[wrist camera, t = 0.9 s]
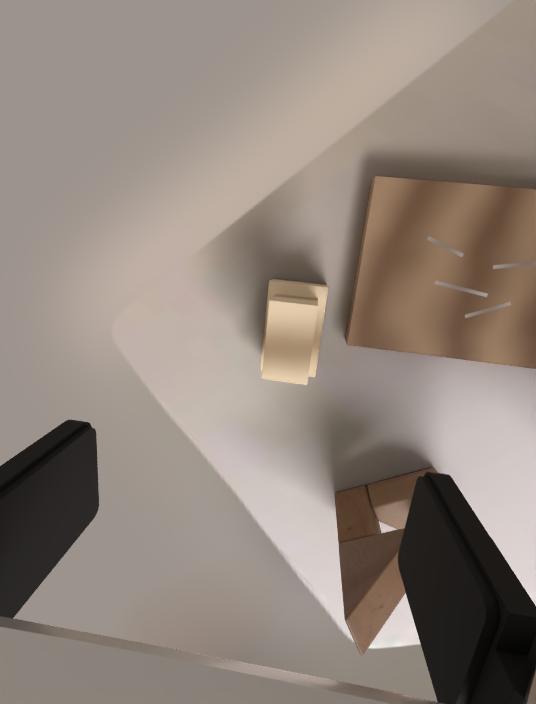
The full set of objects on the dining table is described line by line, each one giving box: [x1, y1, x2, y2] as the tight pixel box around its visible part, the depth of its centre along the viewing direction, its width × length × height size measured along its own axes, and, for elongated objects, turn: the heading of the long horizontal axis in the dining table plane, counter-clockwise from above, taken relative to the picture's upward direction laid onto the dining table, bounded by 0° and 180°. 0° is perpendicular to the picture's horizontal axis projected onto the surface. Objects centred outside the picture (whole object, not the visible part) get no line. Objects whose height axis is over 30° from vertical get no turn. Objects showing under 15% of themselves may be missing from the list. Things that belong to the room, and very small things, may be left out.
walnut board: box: [345, 176, 536, 369], centre depth 30 cm, size 20×14×2 cm
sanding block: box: [260, 278, 328, 385], centre depth 30 cm, size 8×5×9 cm, turn 174°
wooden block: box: [335, 468, 438, 655], centre depth 29 cm, size 4×11×18 cm, turn 113°
